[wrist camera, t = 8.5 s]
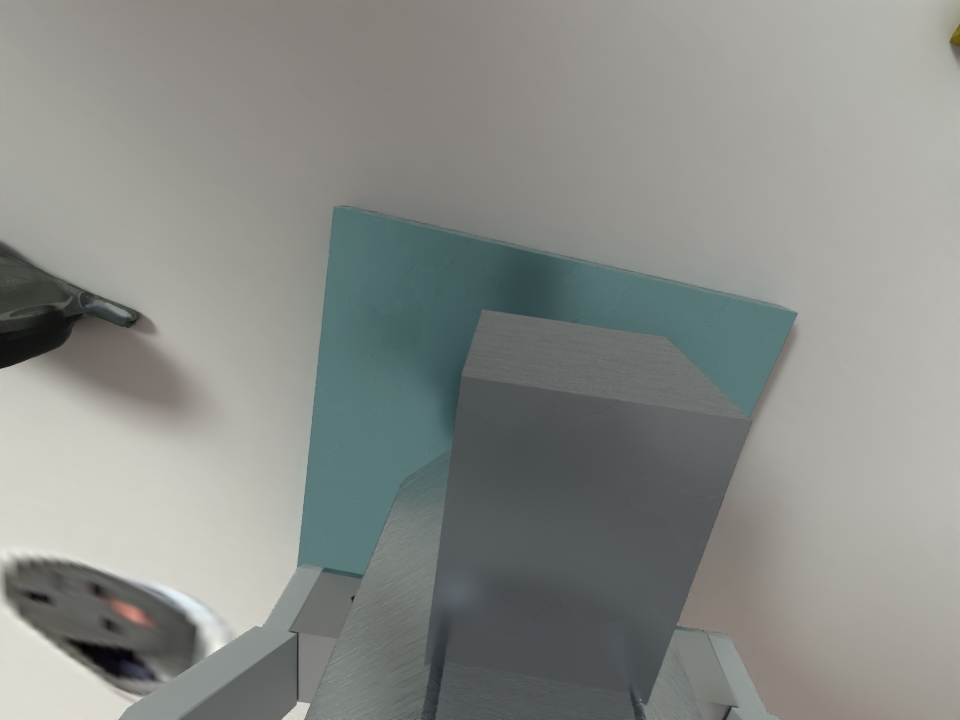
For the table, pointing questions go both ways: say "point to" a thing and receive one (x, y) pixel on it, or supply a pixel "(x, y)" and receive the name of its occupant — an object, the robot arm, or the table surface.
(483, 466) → the tabbed metal cylinder
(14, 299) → the mobile phone
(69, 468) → the table surface
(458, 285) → the flat teal square plate
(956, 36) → the yellow thin looped cord
